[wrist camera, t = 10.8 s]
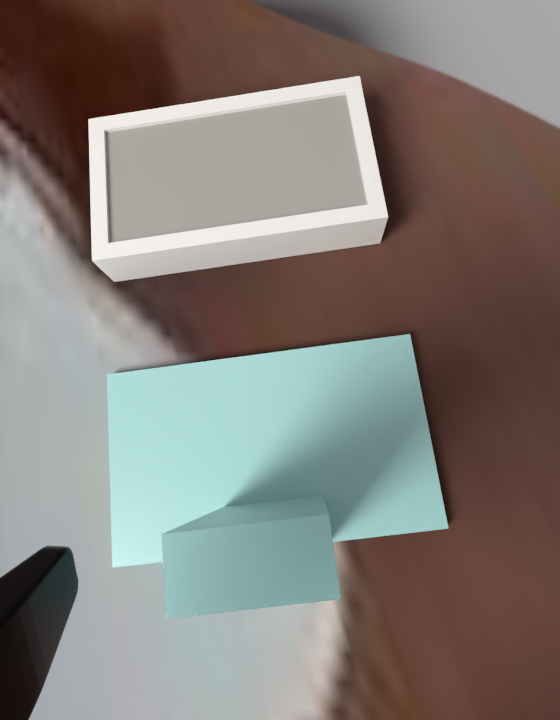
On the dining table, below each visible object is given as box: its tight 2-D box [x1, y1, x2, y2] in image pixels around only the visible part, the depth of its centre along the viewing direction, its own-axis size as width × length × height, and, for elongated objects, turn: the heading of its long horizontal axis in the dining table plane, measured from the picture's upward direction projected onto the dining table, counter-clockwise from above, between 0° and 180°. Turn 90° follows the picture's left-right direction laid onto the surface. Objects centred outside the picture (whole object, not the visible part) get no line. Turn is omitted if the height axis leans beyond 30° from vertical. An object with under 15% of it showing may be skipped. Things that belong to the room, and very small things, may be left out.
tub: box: [88, 76, 388, 282], centre depth 23 cm, size 8×14×2 cm, turn 97°
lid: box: [107, 334, 448, 619], centre depth 17 cm, size 9×15×10 cm, turn 97°
